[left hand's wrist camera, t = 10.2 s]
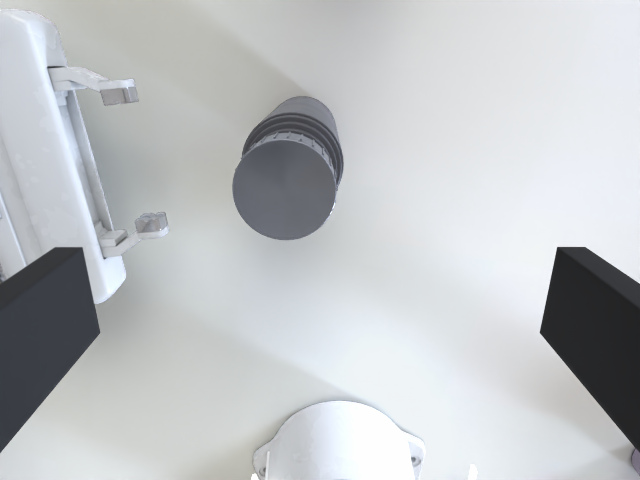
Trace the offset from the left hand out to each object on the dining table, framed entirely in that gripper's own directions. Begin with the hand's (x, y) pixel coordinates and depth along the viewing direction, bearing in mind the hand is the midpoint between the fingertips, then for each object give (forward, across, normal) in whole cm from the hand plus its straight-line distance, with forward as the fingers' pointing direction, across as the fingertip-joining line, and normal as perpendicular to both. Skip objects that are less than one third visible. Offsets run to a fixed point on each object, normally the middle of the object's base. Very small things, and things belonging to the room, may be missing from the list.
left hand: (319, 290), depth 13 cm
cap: (+8, +2, -1) cm, 8 cm away
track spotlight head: (+26, +1, -1) cm, 27 cm away
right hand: (+20, +12, 0) cm, 23 cm away
